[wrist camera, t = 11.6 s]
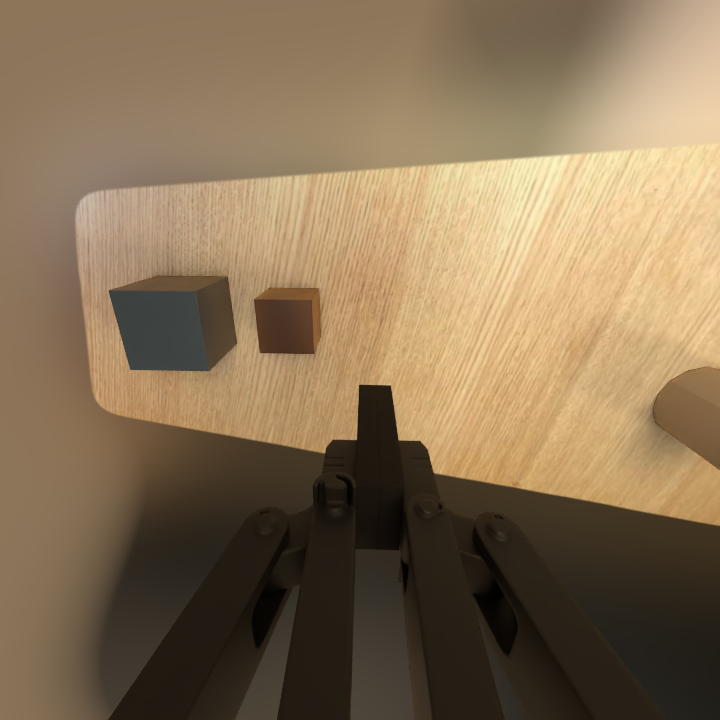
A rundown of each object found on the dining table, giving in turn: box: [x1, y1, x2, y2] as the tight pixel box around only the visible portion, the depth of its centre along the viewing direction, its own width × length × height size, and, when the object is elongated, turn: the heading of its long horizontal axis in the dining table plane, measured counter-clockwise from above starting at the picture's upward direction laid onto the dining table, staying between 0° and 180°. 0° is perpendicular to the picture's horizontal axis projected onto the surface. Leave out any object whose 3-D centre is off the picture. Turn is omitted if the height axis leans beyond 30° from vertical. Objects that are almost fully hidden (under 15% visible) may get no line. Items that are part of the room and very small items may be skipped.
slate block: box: [109, 276, 237, 371], centre depth 32 cm, size 7×7×7 cm
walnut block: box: [254, 288, 321, 354], centre depth 33 cm, size 5×5×5 cm
